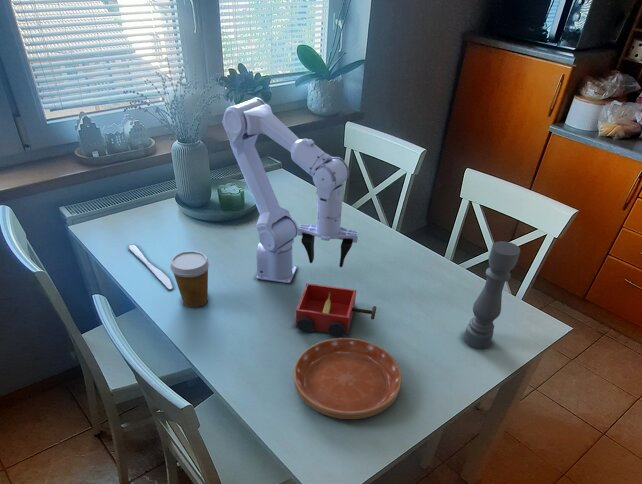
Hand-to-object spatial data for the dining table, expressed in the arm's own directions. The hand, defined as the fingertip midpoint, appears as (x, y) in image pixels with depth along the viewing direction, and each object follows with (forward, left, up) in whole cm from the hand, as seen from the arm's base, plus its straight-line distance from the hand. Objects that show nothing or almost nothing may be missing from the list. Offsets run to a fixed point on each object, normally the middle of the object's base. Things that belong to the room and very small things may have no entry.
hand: (326, 263), depth 130 cm
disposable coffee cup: (-32, -11, -10) cm, 35 cm away
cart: (+2, -10, -9) cm, 14 cm away
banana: (+2, -10, -9) cm, 13 cm away
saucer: (+11, -32, -10) cm, 35 cm away
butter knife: (-50, +1, -10) cm, 51 cm away
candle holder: (+39, -10, -10) cm, 41 cm away
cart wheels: (+5, -10, -9) cm, 15 cm away
